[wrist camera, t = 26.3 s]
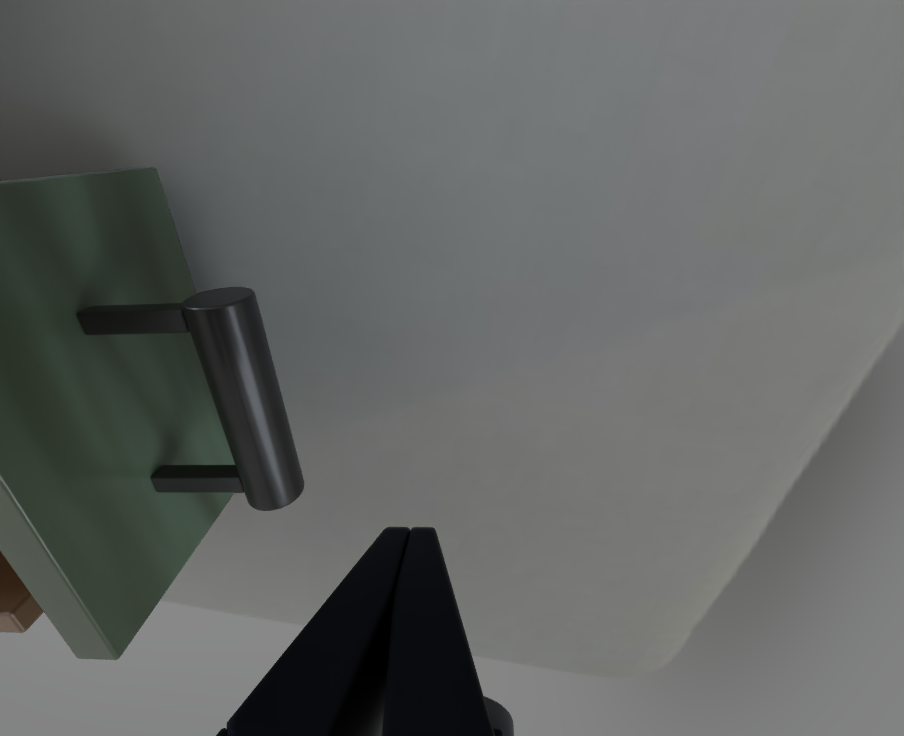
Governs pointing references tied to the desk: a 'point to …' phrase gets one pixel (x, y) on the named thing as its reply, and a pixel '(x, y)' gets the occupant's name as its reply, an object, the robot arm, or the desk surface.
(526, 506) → the desk surface
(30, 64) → the desk surface
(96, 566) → the drawer
